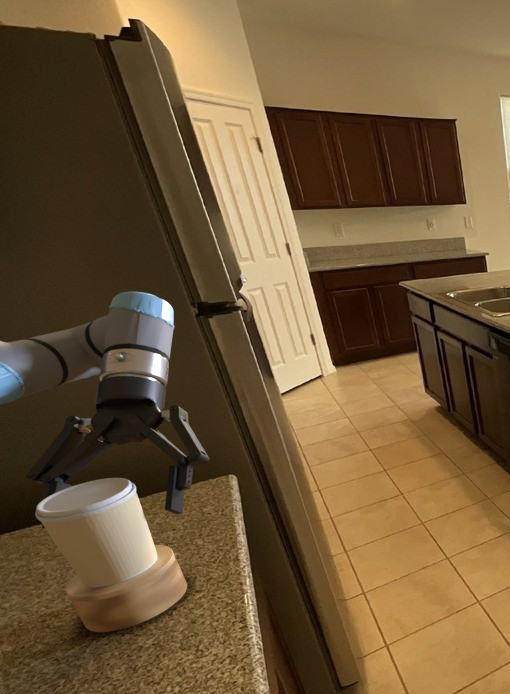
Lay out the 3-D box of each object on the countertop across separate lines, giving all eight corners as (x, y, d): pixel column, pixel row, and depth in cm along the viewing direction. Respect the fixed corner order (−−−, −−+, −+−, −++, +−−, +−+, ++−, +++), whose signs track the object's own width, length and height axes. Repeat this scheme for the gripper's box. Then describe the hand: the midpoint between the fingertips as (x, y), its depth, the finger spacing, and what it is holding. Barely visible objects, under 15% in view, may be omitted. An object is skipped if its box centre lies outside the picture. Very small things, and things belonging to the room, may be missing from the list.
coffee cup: (150, 540, 78) (118, 470, 73) (177, 560, 74) (144, 487, 69) (64, 577, 71) (22, 501, 66) (88, 601, 66) (45, 522, 62)
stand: (64, 641, 68) (43, 605, 66) (113, 586, 78) (96, 553, 75) (165, 620, 71) (148, 586, 69) (200, 570, 81) (187, 538, 78)
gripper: (7, 382, 73) (-27, 531, 66) (216, 365, 80) (206, 498, 72) (51, 405, 80) (24, 542, 72) (239, 386, 87) (233, 510, 79)
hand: (115, 520), depth 72 cm, fingers open, 13 cm apart
